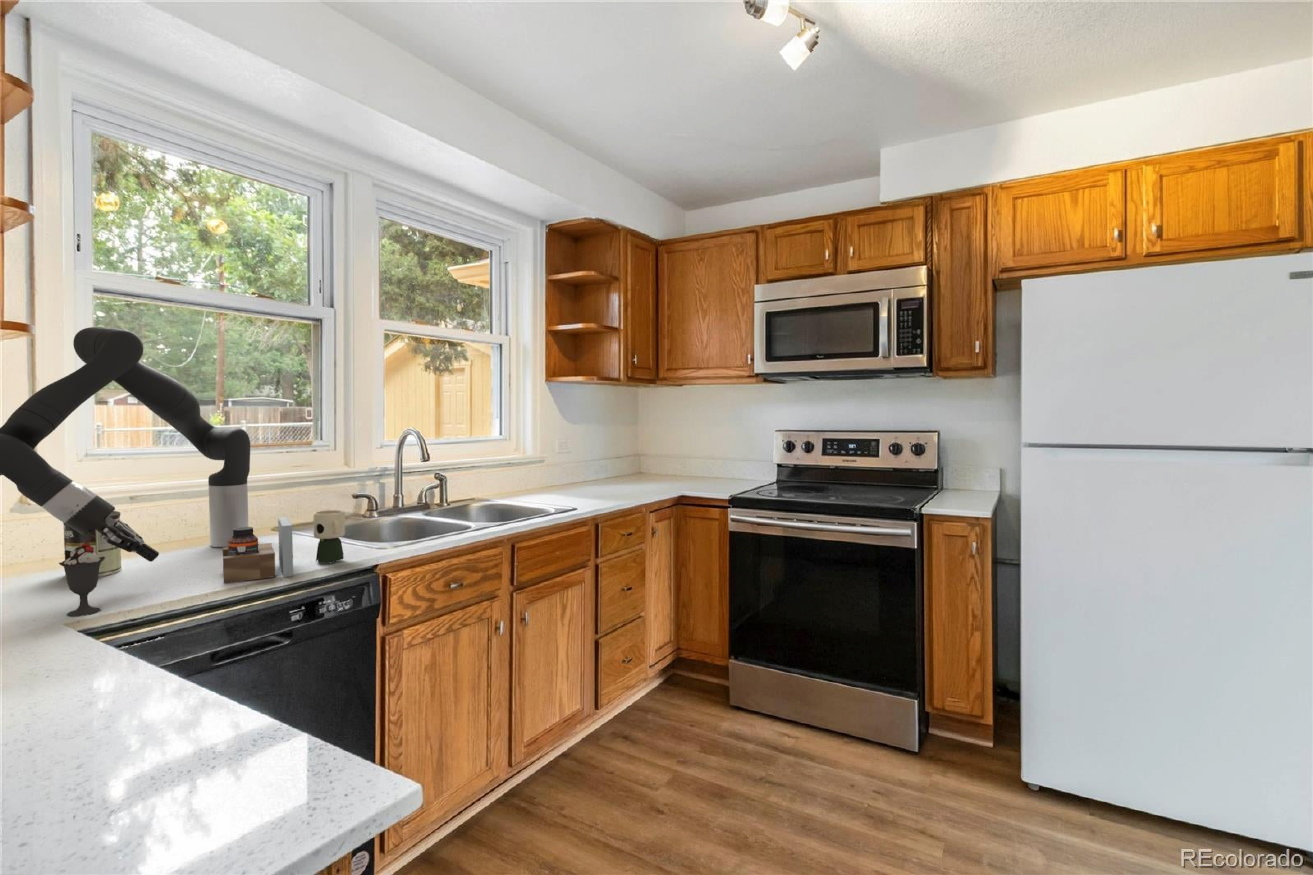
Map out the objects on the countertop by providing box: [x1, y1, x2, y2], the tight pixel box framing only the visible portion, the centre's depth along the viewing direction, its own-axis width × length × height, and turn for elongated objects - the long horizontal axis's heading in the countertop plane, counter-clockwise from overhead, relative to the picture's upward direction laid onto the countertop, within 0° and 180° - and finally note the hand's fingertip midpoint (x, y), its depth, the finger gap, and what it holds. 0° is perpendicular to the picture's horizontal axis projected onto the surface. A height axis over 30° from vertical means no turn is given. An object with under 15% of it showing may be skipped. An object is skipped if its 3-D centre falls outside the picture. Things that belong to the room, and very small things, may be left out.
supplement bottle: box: [228, 526, 259, 556], centre depth 152 cm, size 6×6×11 cm
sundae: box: [58, 535, 105, 617], centre depth 125 cm, size 7×7×15 cm
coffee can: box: [62, 510, 123, 578], centre depth 153 cm, size 10×10×14 cm
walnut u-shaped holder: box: [222, 542, 276, 584], centre depth 153 cm, size 13×10×6 cm
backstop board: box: [277, 516, 294, 578], centre depth 157 cm, size 13×2×12 cm, turn 34°
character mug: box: [313, 509, 346, 564], centre depth 165 cm, size 11×7×13 cm, turn 46°
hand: (155, 557), depth 143 cm, fingers closed
